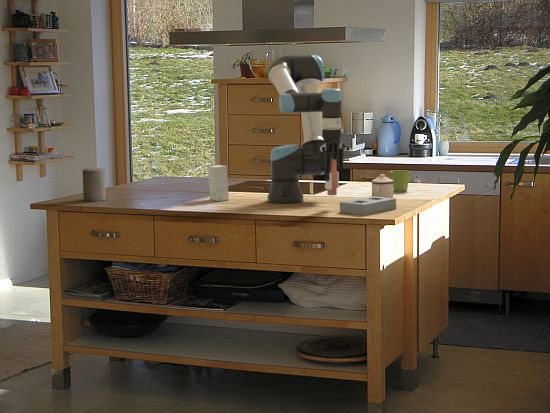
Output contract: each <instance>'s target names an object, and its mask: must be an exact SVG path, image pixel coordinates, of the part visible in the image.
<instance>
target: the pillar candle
mask: <svg viewBox="0 0 550 413" xmlns="http://www.w3.org/2000/svg"><path fill="white" fill-rule="evenodd" d="M105 170H106V169H105V168H103V167H94V166H92V167H88V168H83V169H82V190H83V201H84V202H91V201H94V202H102V200H103V201H105V200H106V198H107V197H106V196H107V195H106V173H105Z"/></svg>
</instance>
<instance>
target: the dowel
mask: <svg viewBox="0 0 550 413" xmlns="http://www.w3.org/2000/svg"><path fill="white" fill-rule="evenodd" d="M330 173H332V189H326V191H327V193H326V194H327V196H337V193H338V191H337V190H338V188H337V161H336V159H332V160H331V169H330Z"/></svg>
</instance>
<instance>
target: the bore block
mask: <svg viewBox="0 0 550 413" xmlns="http://www.w3.org/2000/svg"><path fill="white" fill-rule="evenodd" d="M391 209H392V210H395V209H397V198H394V197H393V198H385V197H375V196H372V195H371V196H366V197H361V198H355V199H348V200H345V201H344V200H343V201H339V213H344V214H351V215H358V214H359V216H368V215H373V214H376V213H377V212H378V213H381V211H383V212H387V211H391ZM386 210H387V211H386Z"/></svg>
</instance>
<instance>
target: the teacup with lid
mask: <svg viewBox="0 0 550 413" xmlns="http://www.w3.org/2000/svg"><path fill="white" fill-rule="evenodd" d="M393 183H394V182H393V180H392V178H389V177H388V176H386V175H385V174H383V173H382V174H381V173H380V174H379V176H377V177H376V178H373V179H371V196H375V197H385V198H394V190H393Z"/></svg>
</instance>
